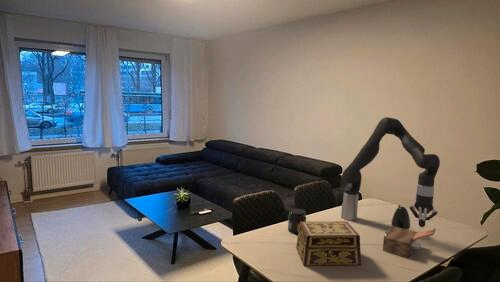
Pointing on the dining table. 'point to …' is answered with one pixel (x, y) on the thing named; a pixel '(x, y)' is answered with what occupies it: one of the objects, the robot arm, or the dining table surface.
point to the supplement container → (295, 219)
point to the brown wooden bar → (413, 244)
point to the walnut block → (399, 241)
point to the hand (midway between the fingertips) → (421, 226)
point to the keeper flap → (424, 234)
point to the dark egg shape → (401, 218)
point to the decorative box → (328, 244)
